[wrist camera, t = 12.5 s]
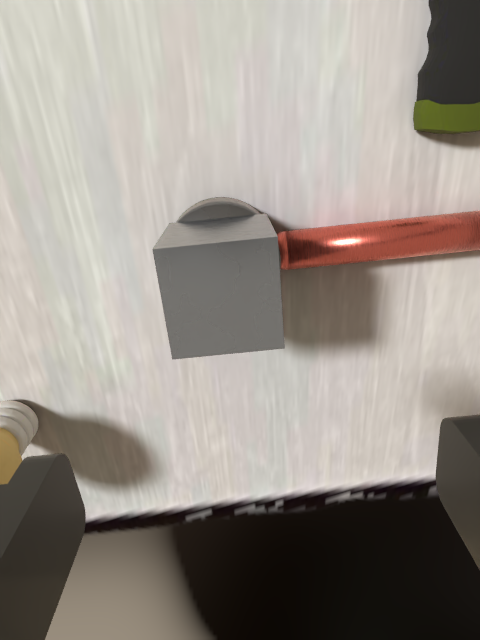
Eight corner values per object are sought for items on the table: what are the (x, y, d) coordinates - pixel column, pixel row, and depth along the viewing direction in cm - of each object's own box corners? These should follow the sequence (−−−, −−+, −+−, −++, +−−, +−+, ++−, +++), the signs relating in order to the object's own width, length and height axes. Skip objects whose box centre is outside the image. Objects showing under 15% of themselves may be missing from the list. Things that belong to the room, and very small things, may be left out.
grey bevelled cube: (266, 213, 24) (277, 236, 19) (272, 304, 27) (284, 348, 21) (169, 223, 24) (152, 249, 19) (183, 312, 27) (172, 359, 21)
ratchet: (526, 164, 27) (630, 175, 20) (509, 273, 29) (595, 315, 22) (160, 203, 27) (136, 227, 20) (177, 307, 30) (162, 359, 23)
